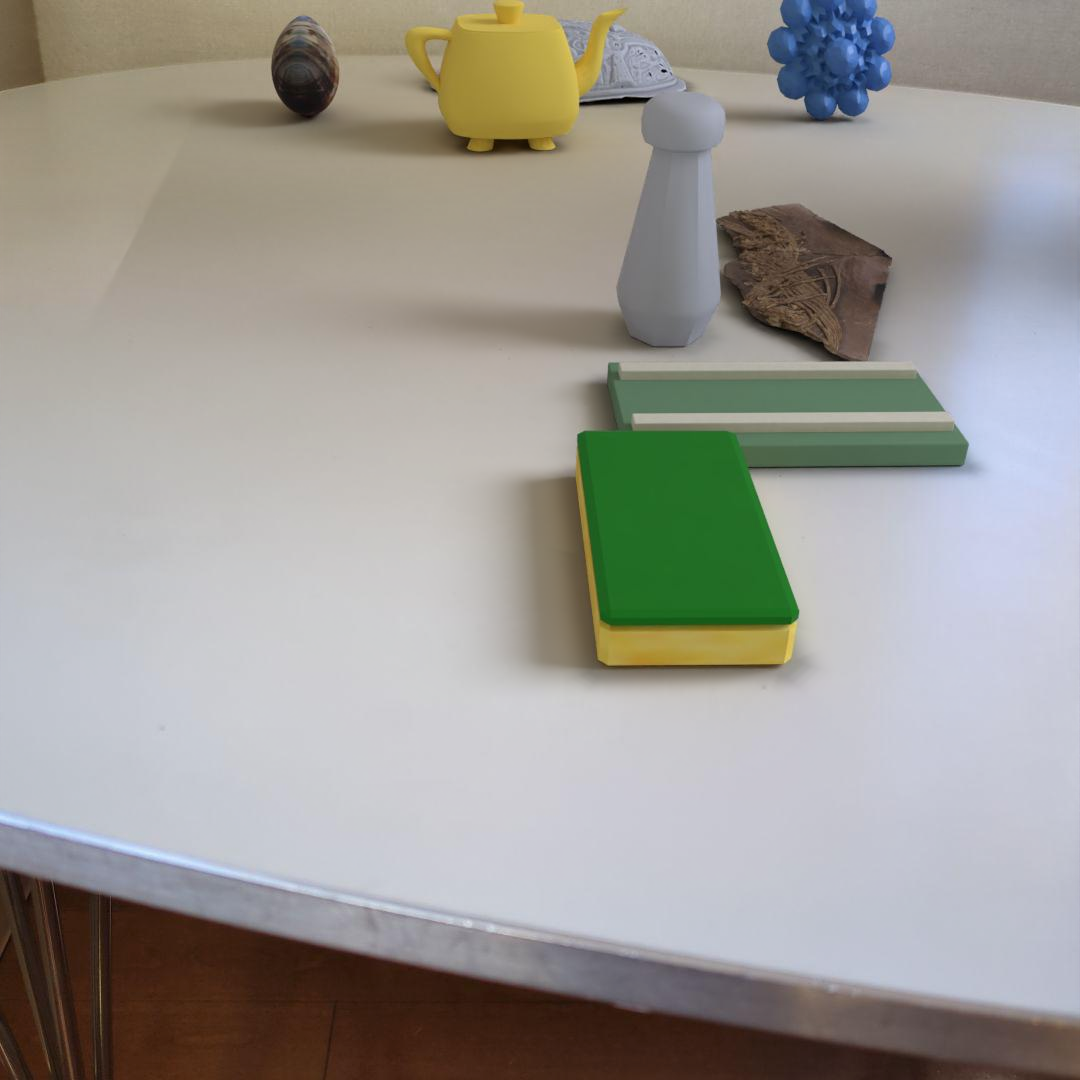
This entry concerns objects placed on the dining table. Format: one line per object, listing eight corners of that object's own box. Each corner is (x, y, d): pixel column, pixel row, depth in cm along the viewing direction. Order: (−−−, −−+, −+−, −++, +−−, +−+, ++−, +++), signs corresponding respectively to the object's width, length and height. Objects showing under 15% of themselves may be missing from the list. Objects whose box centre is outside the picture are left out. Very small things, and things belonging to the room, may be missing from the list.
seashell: (284, 101, 110) (275, 7, 106) (347, 102, 111) (341, 8, 106) (268, 129, 102) (258, 28, 98) (335, 130, 103) (328, 29, 98)
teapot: (608, 119, 107) (615, -11, 101) (633, 155, 98) (642, 13, 92) (405, 122, 105) (400, -11, 99) (411, 159, 96) (406, 14, 90)
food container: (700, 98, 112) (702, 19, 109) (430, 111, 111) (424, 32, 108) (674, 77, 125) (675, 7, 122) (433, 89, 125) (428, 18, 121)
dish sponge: (597, 668, 44) (601, 615, 42) (574, 475, 55) (576, 428, 54) (792, 667, 44) (802, 614, 43) (729, 475, 55) (735, 428, 54)
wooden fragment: (712, 208, 87) (714, 193, 86) (866, 215, 86) (869, 200, 86) (733, 361, 66) (735, 343, 65) (938, 373, 65) (942, 355, 64)
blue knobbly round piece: (771, 133, 105) (789, -17, 98) (751, 112, 111) (768, -31, 104) (900, 132, 106) (927, -16, 99) (874, 112, 112) (898, -30, 105)
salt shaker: (665, 363, 65) (687, 117, 58) (592, 329, 69) (604, 93, 62) (736, 335, 69) (765, 99, 61) (663, 304, 72) (682, 77, 65)
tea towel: (905, 381, 64) (912, 351, 63) (964, 466, 57) (972, 433, 56) (606, 382, 63) (608, 351, 62) (626, 468, 56) (628, 435, 55)
